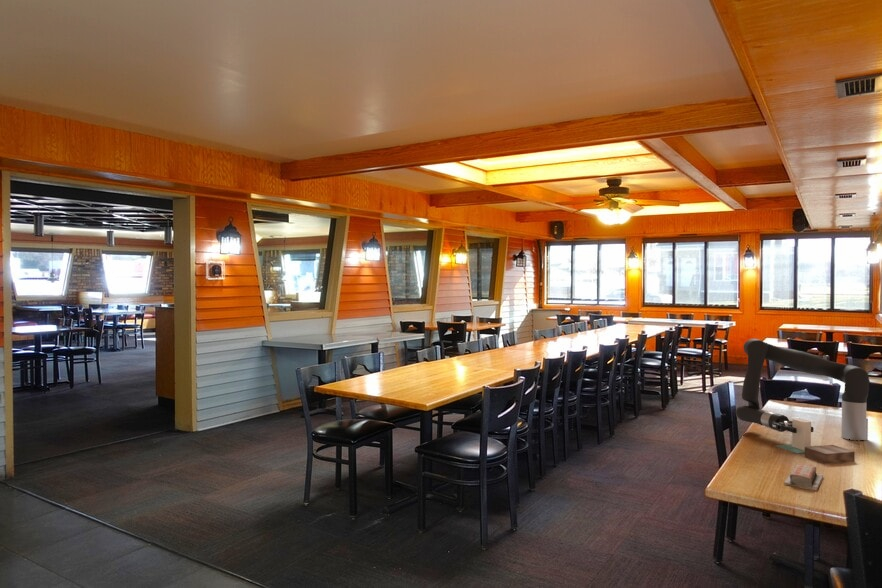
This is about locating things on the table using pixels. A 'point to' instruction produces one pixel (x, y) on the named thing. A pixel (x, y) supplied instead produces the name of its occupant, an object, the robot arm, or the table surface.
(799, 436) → the beige rectangular block
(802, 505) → the table surface
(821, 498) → the table surface
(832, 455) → the block
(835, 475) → the table surface
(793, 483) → the packaged product
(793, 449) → the mat
